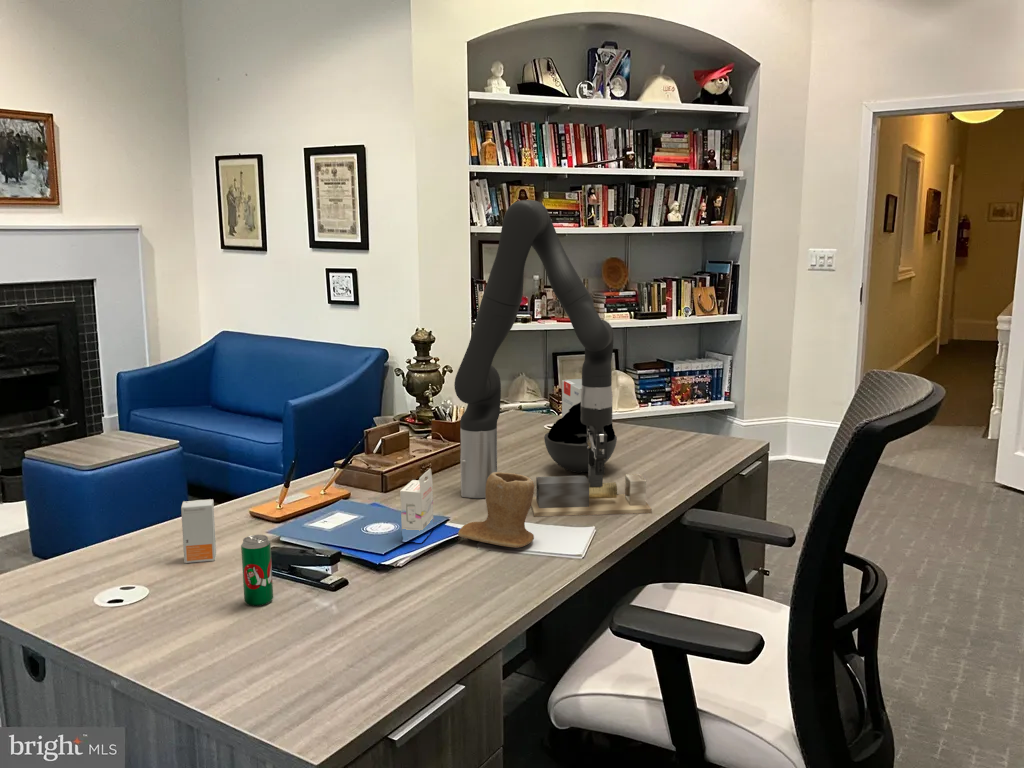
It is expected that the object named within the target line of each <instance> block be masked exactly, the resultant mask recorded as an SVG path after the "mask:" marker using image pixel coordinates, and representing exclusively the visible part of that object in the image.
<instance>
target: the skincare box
mask: <svg viewBox="0 0 1024 768" xmlns="http://www.w3.org/2000/svg"><path fill="white" fill-rule="evenodd" d="M214 503H215V502H214V499H213V498H212V499H211V498H209V499H197V500H189V501H187V500H186V501H185V500H184V501H182V504H181V506H180V507H181V508H180V511H181V525H182V526H181V528H182V530H181V531H182V545H183V547H182V548H183V560H184V561H183V562H184V564H190V563H203V562H214V561H216V557H217V556H216V555H217V544H216V543H217V541H216V526H215V525H216V524H215V523H216V522H215V505H214Z"/></svg>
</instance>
